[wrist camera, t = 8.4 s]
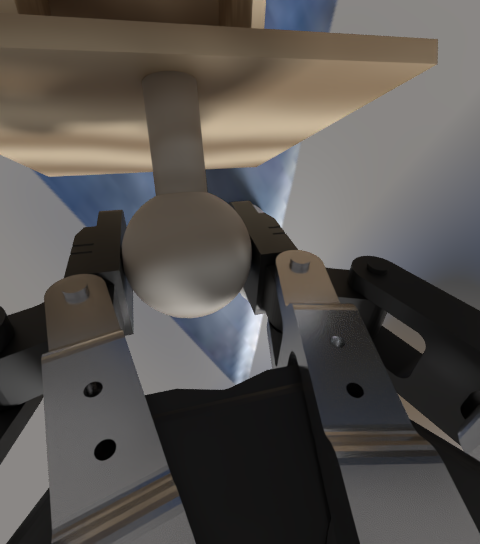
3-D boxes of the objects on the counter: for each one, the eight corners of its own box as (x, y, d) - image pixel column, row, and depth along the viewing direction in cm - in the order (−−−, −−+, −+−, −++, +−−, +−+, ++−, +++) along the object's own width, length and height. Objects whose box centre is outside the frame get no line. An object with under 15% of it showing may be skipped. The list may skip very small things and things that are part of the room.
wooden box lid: (-297, -17, 5) (-163, 398, 6) (447, 32, 8) (441, 294, 9) (47, 167, 20) (66, 273, 22) (255, 158, 24) (262, 250, 25)
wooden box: (-2, -157, 19) (-94, -295, 11) (227, -118, 22) (278, -204, 15) (70, 130, 28) (46, 165, 20) (225, 128, 32) (255, 157, 24)
